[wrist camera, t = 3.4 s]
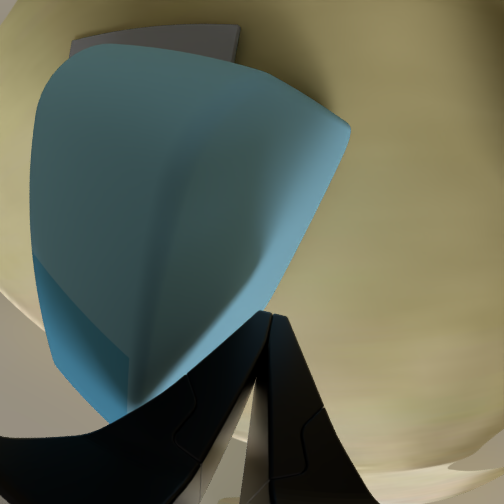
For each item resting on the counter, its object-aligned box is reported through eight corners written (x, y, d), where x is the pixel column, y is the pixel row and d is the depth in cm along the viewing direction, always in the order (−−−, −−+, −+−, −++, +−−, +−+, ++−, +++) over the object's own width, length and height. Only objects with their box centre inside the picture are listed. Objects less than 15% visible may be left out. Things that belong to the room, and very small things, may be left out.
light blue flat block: (275, 93, 13) (50, 37, 3) (356, 128, 12) (223, 45, 2) (207, 273, 19) (57, 378, 9) (264, 310, 18) (133, 455, 8)
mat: (240, 27, 12) (238, 24, 11) (201, 323, 21) (199, 328, 21) (77, 41, 13) (72, 40, 13) (80, 280, 23) (76, 283, 22)
